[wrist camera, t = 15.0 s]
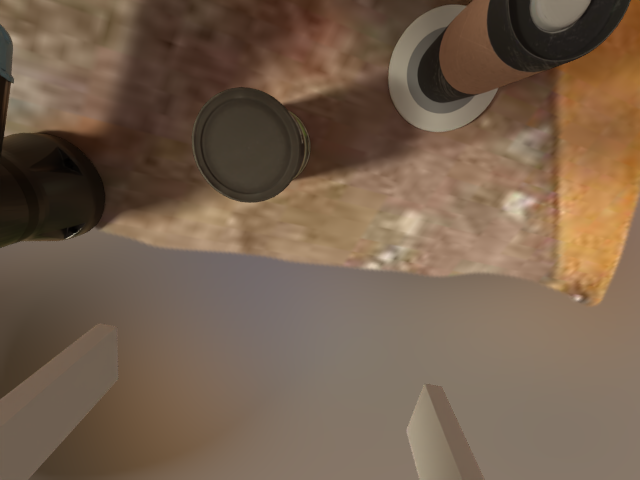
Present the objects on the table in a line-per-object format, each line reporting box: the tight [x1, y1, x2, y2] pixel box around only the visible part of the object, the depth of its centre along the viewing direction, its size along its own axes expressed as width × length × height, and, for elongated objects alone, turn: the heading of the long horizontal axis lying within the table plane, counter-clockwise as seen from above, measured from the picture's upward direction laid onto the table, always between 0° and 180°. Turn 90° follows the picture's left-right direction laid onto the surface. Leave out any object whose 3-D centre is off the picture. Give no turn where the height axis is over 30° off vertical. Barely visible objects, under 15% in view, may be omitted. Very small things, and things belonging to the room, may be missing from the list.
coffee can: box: [192, 87, 310, 202], centre depth 34 cm, size 10×10×14 cm
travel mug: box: [417, 0, 631, 103], centre depth 27 cm, size 8×8×20 cm
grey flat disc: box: [388, 5, 498, 132], centre depth 37 cm, size 14×14×1 cm
